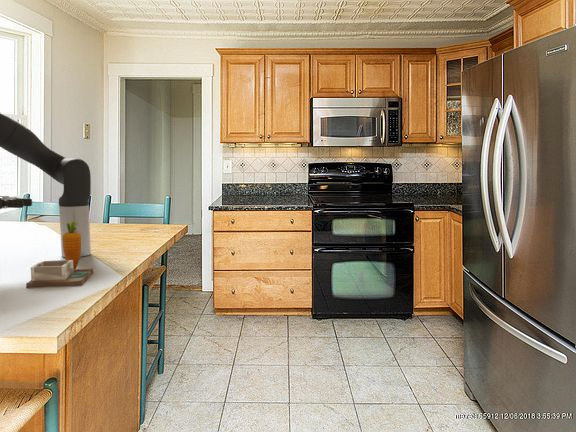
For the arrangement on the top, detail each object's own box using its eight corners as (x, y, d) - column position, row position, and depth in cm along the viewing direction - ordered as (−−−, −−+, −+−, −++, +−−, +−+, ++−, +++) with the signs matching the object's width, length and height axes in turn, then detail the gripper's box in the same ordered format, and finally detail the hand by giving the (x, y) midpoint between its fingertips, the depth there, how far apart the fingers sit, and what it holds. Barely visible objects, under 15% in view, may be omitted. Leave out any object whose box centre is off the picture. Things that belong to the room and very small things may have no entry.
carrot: (63, 269, 135) (61, 219, 134) (82, 267, 138) (79, 218, 136) (64, 272, 131) (61, 221, 129) (83, 271, 133) (80, 220, 131)
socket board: (44, 274, 129) (43, 258, 128) (93, 272, 131) (92, 256, 131) (26, 287, 115) (25, 269, 114) (81, 285, 117) (80, 267, 117)
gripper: (-50, 187, 118) (20, 190, 122) (-28, 186, 132) (34, 189, 136) (-50, 216, 119) (20, 218, 123) (-28, 212, 132) (34, 214, 137)
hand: (27, 203), depth 130 cm, fingers open, 8 cm apart
